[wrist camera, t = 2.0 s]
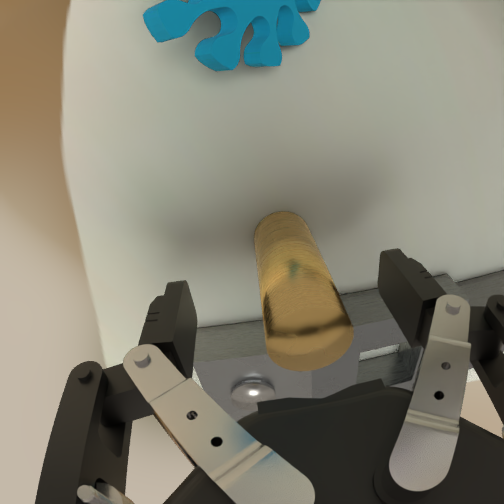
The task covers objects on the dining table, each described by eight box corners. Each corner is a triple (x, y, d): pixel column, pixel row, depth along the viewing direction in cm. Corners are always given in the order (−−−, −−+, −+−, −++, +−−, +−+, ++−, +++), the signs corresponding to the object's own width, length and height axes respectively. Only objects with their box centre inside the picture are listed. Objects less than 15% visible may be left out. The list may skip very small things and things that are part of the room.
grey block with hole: (509, 258, 19) (536, 282, 16) (482, 341, 23) (500, 367, 20) (192, 316, 20) (186, 357, 17) (222, 399, 24) (221, 435, 21)
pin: (307, 207, 17) (355, 299, 10) (310, 257, 18) (351, 362, 11) (250, 216, 17) (260, 315, 10) (258, 265, 18) (271, 376, 11)
